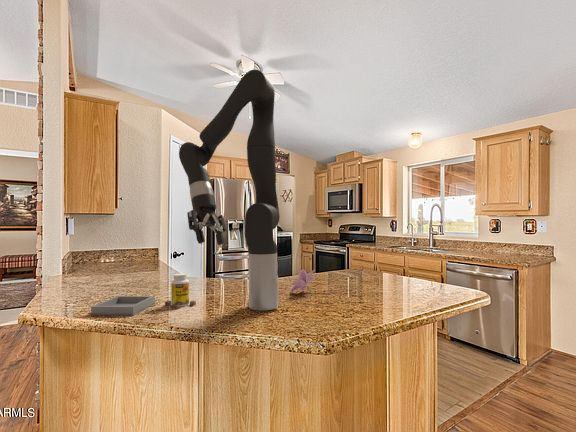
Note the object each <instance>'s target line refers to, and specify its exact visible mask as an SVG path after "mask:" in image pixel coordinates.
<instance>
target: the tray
mask: <svg viewBox="0 0 576 432" xmlns="http://www.w3.org/2000/svg"><path fill="white" fill-rule="evenodd" d="M155 303H156V297H155V295H117V296H114V297H112V298H109V299H106V300H104V301H102V302H99V303H97V304H95V305H91V306H90V315H91V316H98V317H99V316H101V317H102V316H110V317H111V316H113V317H114V316H115V317H116V315H117V316H119V315H120V316H119V317H121V315H122V316H123V315H124V316H123V317H125V316H127V317H129V316H131V317H132V316H135V315H137V314H139V313H141V312H143V311H144V310H146V309H148V308H150V307H151V306H153V305H155Z"/></svg>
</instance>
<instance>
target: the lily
mask: <svg viewBox="0 0 576 432" xmlns="http://www.w3.org/2000/svg"><path fill="white" fill-rule="evenodd" d="M315 271H316V269H313V270H311V271H310V272H308V273H307V271H306V270H305V269H304V268H302V269H301V270H300V272H299V273H298V279H297V280H295V281H293V282H292V283H291V285H292V286H293V287H291V289H290V291H289V295H290V294H292V293H293V292H295V291H296V290H298V289H300V290H301V292H305V290H306V287H307V289H308V292H309V293H310V295H311V296H312V297H313V294H312V291H311V290H310V287H309V286H308V285H309V283H310V282H311V281H313V280H315V279H316V277H315V276H313V274H314V272H315Z"/></svg>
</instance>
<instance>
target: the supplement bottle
mask: <svg viewBox="0 0 576 432" xmlns="http://www.w3.org/2000/svg"><path fill="white" fill-rule="evenodd" d="M187 276H188V275H187V273H175V274H174V275H173V280H171V282H170V283H171V285H170V286H171V292H170V293H171V295H170V296H171V300H170V301H171V305H173V304H179V308H181V307H182V308H183V307H186V306H189V305H190V280H189V279H188V277H187Z"/></svg>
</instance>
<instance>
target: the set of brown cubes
mask: <svg viewBox="0 0 576 432" xmlns="http://www.w3.org/2000/svg"><path fill="white" fill-rule="evenodd" d="M196 303H197V301H196V300H191V301H189V307H195V306H196ZM164 306H165V307H169V306H170V309H171V310H179V309H180V307H179V304H173V305H172V304H171V300H166V301H165V302H164Z"/></svg>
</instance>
